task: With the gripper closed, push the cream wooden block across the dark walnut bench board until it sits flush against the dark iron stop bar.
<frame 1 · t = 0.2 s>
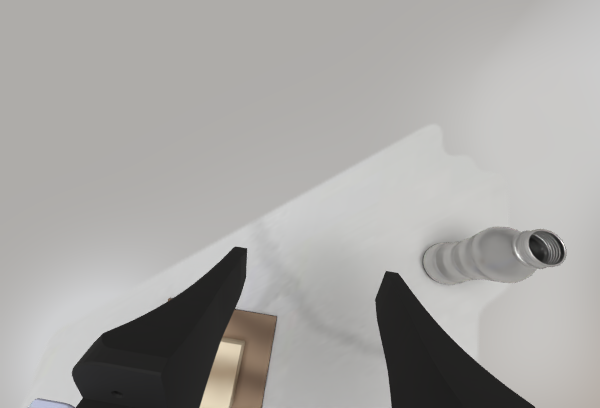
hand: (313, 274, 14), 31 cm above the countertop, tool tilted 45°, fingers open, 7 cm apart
plastic bottle: (437, 264, 45), on the countertop
cream wooden block: (222, 368, 39), point 1 cm above the countertop, touching bench board
bench board: (210, 361, 39), on the countertop
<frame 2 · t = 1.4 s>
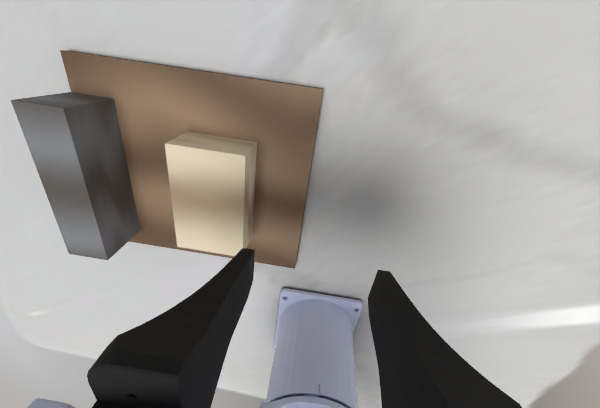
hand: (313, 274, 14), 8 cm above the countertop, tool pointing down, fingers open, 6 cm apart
cream wooden block: (222, 187, 21), point 1 cm above the countertop, touching bench board
bench board: (200, 174, 21), on the countertop
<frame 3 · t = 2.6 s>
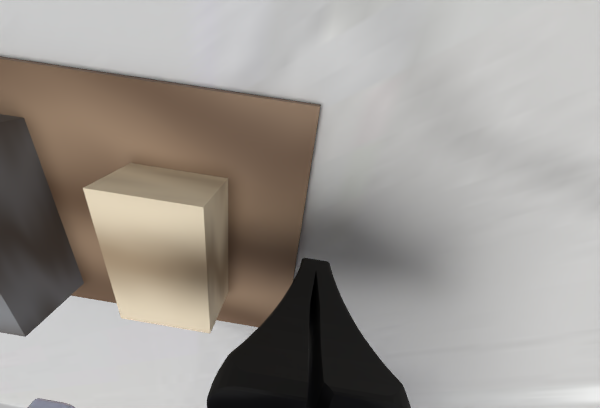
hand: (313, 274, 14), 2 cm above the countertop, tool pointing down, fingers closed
cream wooden block: (185, 235, 15), point 1 cm above the countertop, touching bench board
bench board: (156, 216, 16), on the countertop
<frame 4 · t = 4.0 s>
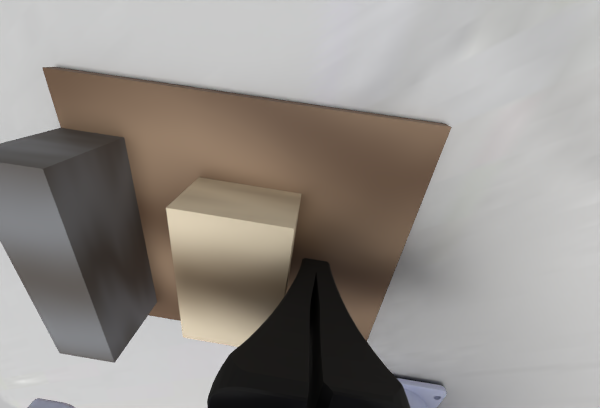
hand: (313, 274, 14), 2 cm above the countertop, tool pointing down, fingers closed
cream wooden block: (247, 250, 15), point 1 cm above the countertop, touching bench board, gripper
bench board: (243, 236, 15), on the countertop
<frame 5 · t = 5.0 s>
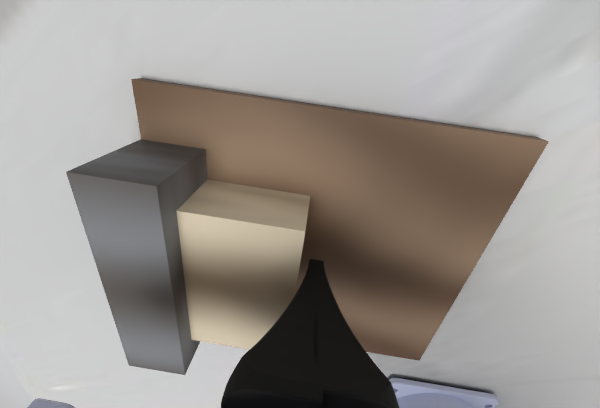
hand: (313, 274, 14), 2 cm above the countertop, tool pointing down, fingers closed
cream wooden block: (254, 252, 15), point 1 cm above the countertop, touching bench board, gripper
bench board: (310, 246, 15), on the countertop
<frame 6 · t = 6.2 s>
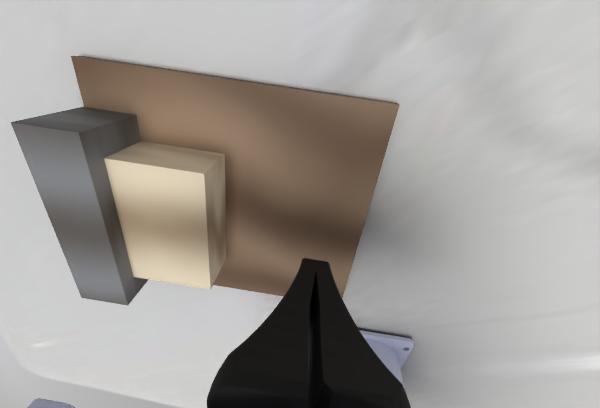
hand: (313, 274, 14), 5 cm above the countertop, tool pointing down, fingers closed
cream wooden block: (188, 205, 18), point 1 cm above the countertop, touching bench board
bench board: (235, 201, 18), on the countertop
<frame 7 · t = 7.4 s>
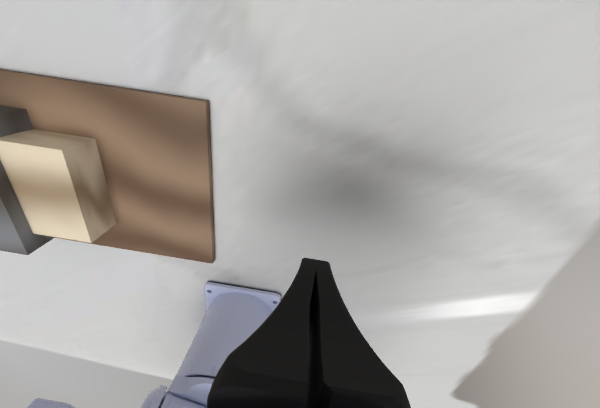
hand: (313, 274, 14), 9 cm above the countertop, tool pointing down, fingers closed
cream wooden block: (78, 180, 23), point 1 cm above the countertop, touching bench board
bench board: (116, 177, 23), on the countertop
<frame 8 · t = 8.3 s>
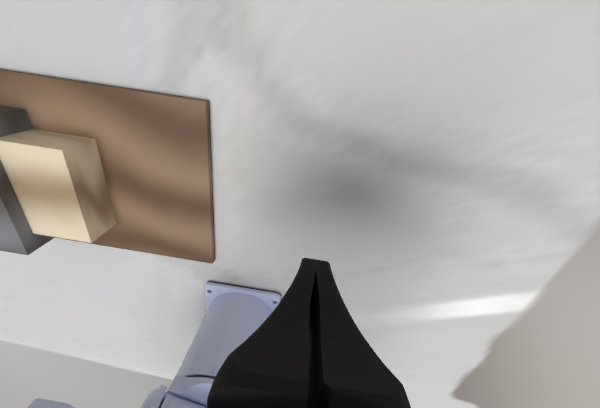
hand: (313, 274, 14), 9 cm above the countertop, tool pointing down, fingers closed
cream wooden block: (78, 180, 23), point 1 cm above the countertop, touching bench board
bench board: (116, 177, 23), on the countertop
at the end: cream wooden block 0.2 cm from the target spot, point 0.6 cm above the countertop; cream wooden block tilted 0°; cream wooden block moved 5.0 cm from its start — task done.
